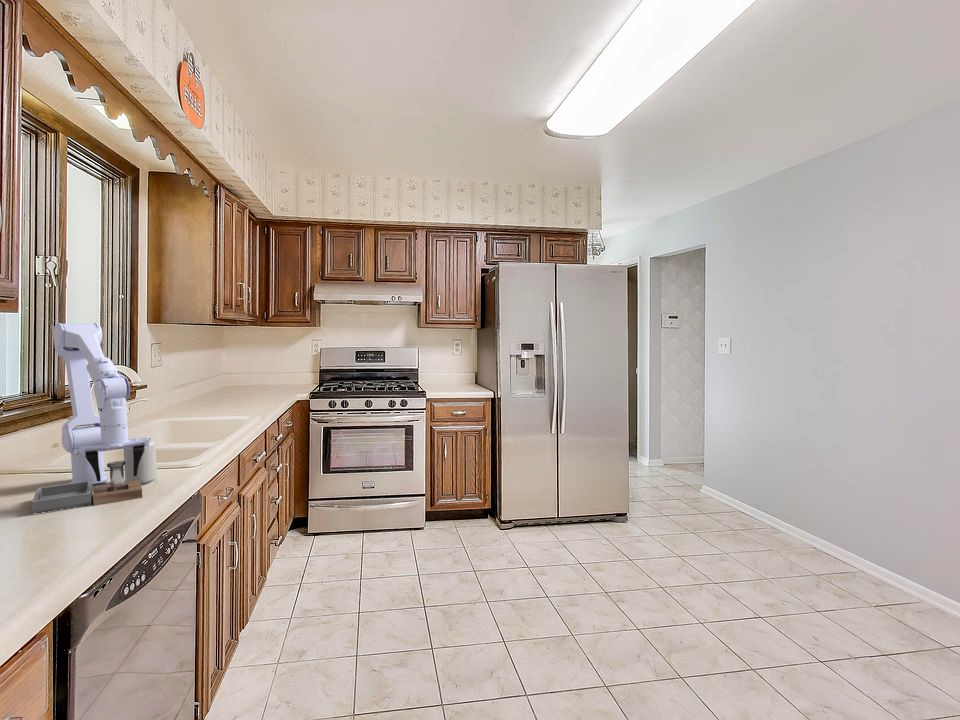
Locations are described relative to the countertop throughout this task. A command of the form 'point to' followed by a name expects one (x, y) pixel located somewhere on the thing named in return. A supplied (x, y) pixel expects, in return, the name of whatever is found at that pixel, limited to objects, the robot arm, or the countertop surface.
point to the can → (141, 464)
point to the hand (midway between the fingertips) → (117, 477)
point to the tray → (62, 497)
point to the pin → (117, 475)
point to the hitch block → (117, 493)
